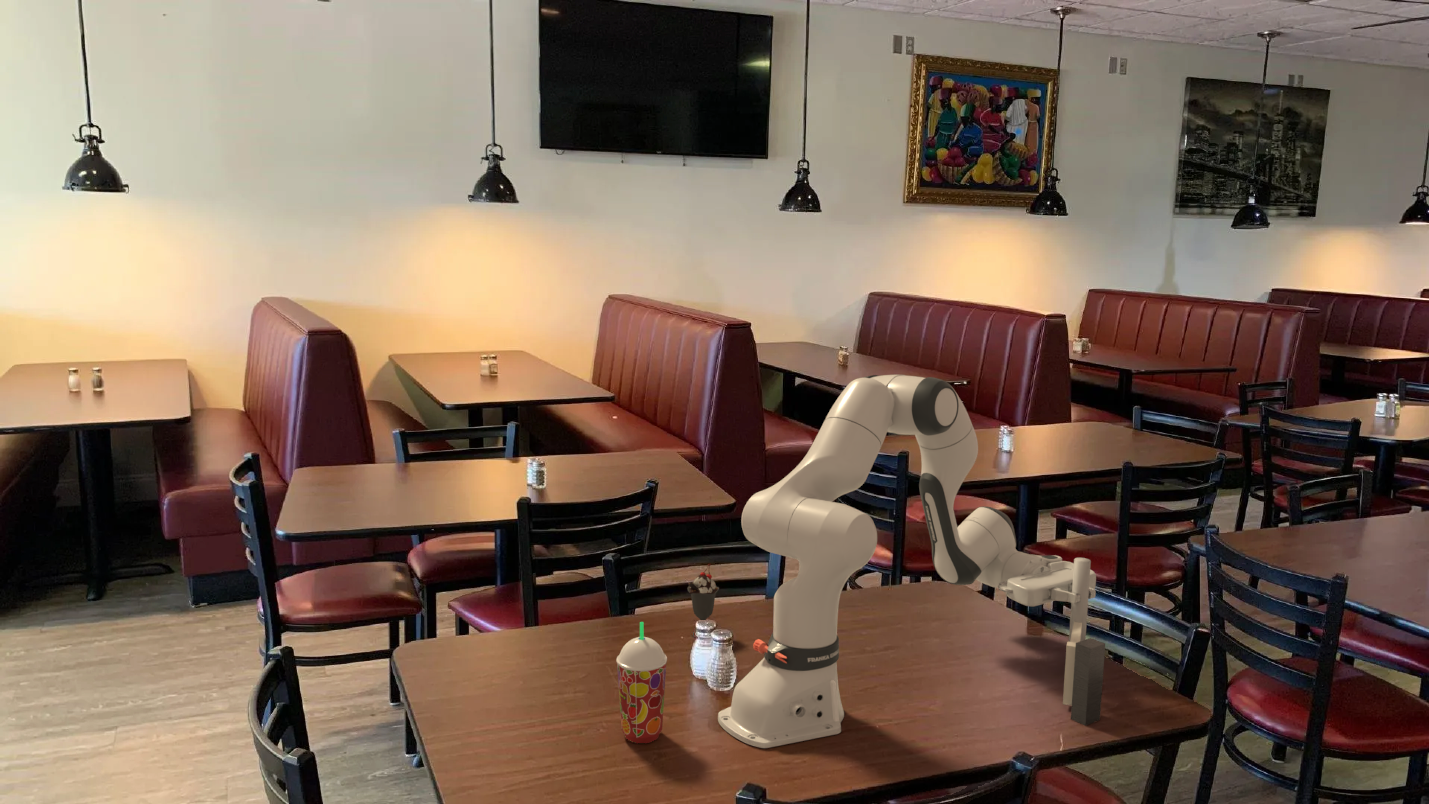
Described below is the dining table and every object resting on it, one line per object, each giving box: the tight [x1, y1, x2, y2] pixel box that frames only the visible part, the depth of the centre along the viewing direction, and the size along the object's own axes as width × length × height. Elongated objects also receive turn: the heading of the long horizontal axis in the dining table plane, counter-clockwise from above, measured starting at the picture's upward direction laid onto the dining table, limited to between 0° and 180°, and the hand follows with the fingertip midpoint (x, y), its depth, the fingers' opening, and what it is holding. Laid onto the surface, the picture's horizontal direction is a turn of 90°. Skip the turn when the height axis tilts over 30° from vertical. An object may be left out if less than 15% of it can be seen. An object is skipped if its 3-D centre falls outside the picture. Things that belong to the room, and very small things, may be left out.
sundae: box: [686, 563, 720, 638], centre depth 218 cm, size 7×7×15 cm
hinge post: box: [1070, 637, 1106, 727], centre depth 181 cm, size 4×3×14 cm
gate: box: [1062, 557, 1092, 707], centre depth 193 cm, size 21×3×21 cm, turn 158°
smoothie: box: [615, 621, 668, 744], centre depth 173 cm, size 8×8×20 cm
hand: (1085, 596), depth 200 cm, fingers open, 3 cm apart
